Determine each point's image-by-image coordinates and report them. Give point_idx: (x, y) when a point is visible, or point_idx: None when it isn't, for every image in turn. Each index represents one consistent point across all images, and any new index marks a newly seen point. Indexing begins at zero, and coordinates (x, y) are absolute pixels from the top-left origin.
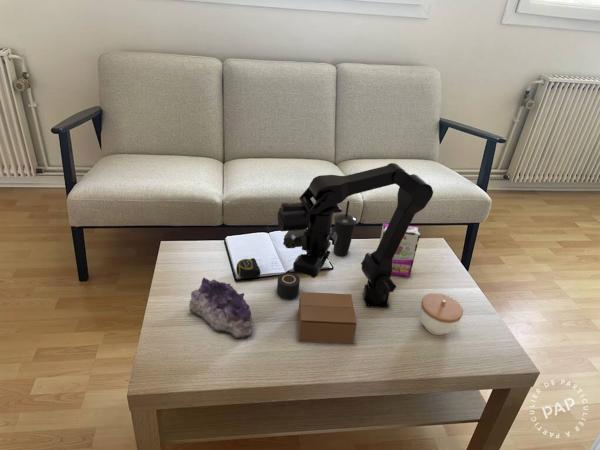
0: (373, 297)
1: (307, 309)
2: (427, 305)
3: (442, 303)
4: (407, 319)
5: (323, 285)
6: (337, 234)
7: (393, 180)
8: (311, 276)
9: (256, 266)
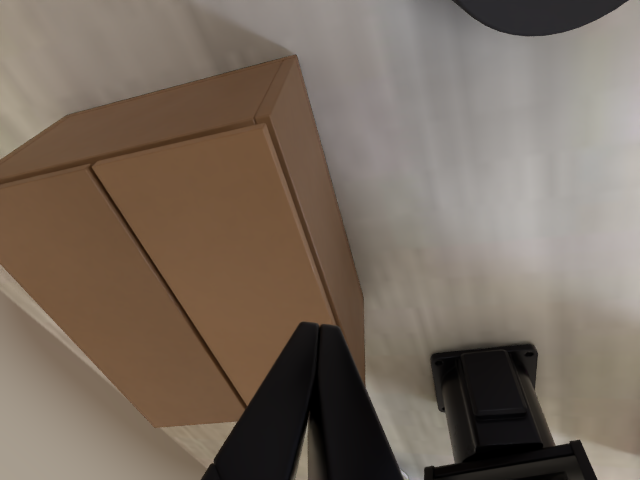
0: (453, 407)
1: (77, 223)
2: None
3: None
4: (390, 438)
5: (606, 166)
6: None
7: None
8: (296, 331)
9: None
